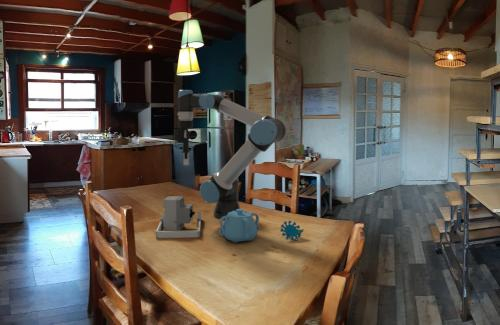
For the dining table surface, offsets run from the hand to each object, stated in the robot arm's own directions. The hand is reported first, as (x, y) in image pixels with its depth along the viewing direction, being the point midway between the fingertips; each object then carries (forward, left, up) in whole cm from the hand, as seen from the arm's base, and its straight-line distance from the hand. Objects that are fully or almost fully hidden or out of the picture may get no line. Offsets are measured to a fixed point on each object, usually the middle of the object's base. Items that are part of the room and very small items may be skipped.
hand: (186, 164), depth 213 cm
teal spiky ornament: (-49, +40, -29) cm, 70 cm away
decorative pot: (-26, +38, -29) cm, 54 cm away
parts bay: (+2, +27, -28) cm, 39 cm away
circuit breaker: (+2, +21, -29) cm, 35 cm away
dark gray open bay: (+2, +12, -28) cm, 31 cm away
